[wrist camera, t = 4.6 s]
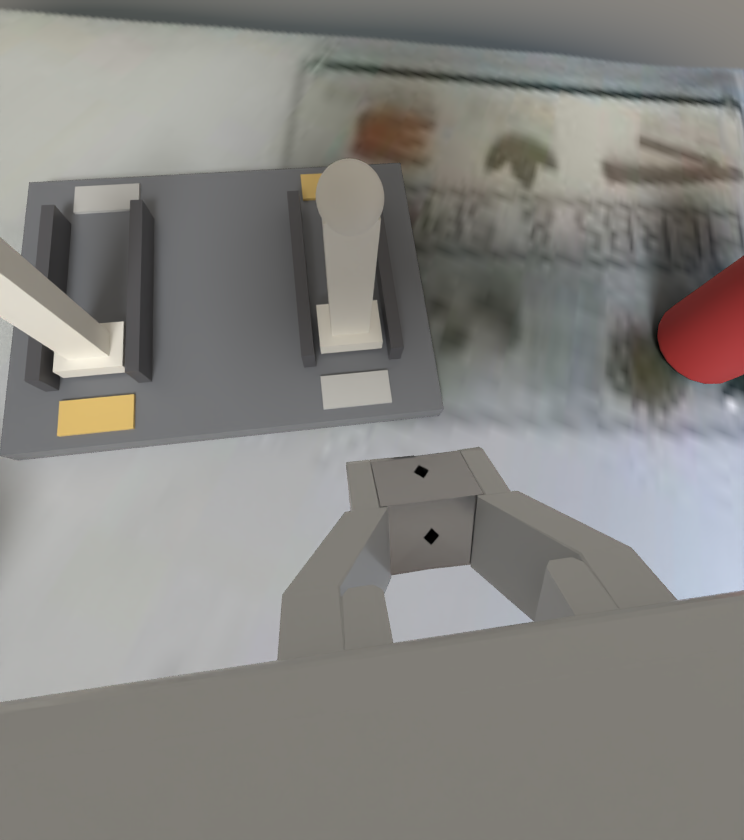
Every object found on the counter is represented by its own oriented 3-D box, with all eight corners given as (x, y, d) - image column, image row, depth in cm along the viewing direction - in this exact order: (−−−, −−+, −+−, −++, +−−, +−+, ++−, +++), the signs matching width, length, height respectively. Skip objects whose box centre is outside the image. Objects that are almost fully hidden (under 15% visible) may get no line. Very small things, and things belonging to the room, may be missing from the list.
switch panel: (18, 460, 27) (-27, 449, 23) (43, 198, 32) (9, 160, 29) (439, 415, 29) (450, 400, 26) (398, 178, 34) (403, 141, 31)
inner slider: (63, 377, 26) (-187, 236, 14) (66, 334, 27) (-167, 164, 15) (130, 371, 27) (-56, 228, 14) (131, 329, 27) (-44, 158, 15)
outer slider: (321, 353, 28) (300, 206, 15) (317, 312, 29) (294, 141, 16) (381, 348, 28) (408, 199, 16) (375, 308, 29) (396, 136, 17)
